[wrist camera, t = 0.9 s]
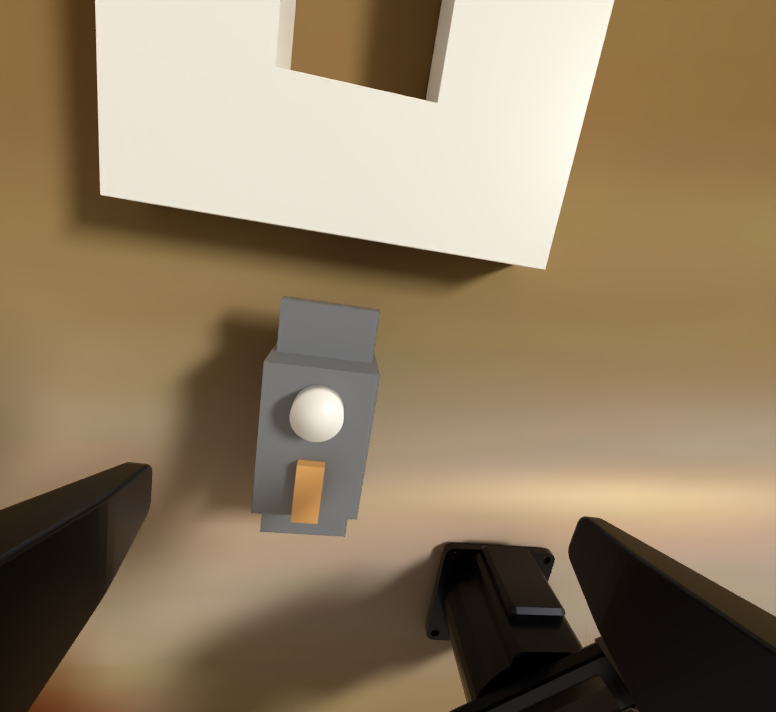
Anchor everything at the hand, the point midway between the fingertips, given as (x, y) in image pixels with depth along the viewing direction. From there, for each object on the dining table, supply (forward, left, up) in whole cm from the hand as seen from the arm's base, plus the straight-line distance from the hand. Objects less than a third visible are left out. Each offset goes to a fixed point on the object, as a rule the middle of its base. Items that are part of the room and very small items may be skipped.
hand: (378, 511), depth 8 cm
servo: (-2, +2, -11) cm, 12 cm away
